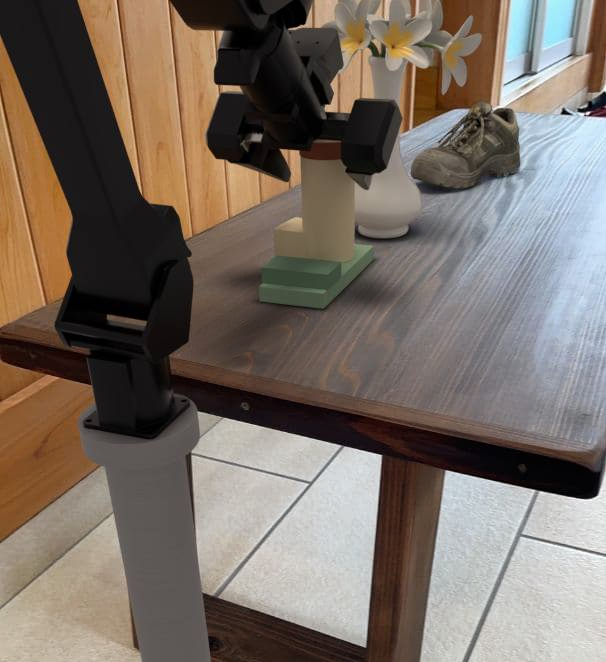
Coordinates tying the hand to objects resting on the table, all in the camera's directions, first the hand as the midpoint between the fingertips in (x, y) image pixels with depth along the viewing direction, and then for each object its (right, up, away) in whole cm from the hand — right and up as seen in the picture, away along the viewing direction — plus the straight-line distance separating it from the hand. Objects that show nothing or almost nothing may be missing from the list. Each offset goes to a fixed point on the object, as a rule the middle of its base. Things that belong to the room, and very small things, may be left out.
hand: (327, 181), depth 88 cm
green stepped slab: (-1, -9, +3) cm, 10 cm away
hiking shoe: (+21, +16, +37) cm, 45 cm away
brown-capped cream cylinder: (-1, -6, +5) cm, 8 cm away
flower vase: (+8, +1, +17) cm, 19 cm away
